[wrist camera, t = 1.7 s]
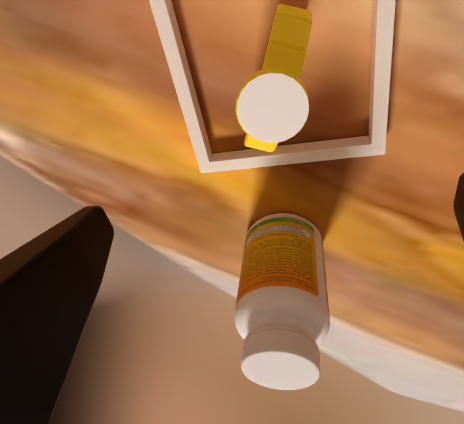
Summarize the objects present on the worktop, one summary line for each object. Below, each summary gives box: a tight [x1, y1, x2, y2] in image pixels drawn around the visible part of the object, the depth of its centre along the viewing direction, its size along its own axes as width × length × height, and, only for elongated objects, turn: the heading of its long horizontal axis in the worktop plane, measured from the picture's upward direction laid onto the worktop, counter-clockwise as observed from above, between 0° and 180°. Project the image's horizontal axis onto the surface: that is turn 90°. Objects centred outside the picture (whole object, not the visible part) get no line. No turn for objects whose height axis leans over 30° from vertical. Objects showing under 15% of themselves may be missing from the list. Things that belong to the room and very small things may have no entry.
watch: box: [236, 3, 312, 152], centre depth 16 cm, size 6×3×6 cm, turn 169°
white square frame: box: [149, 0, 396, 173], centre depth 17 cm, size 10×10×1 cm
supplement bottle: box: [235, 213, 330, 390], centre depth 21 cm, size 5×5×10 cm
